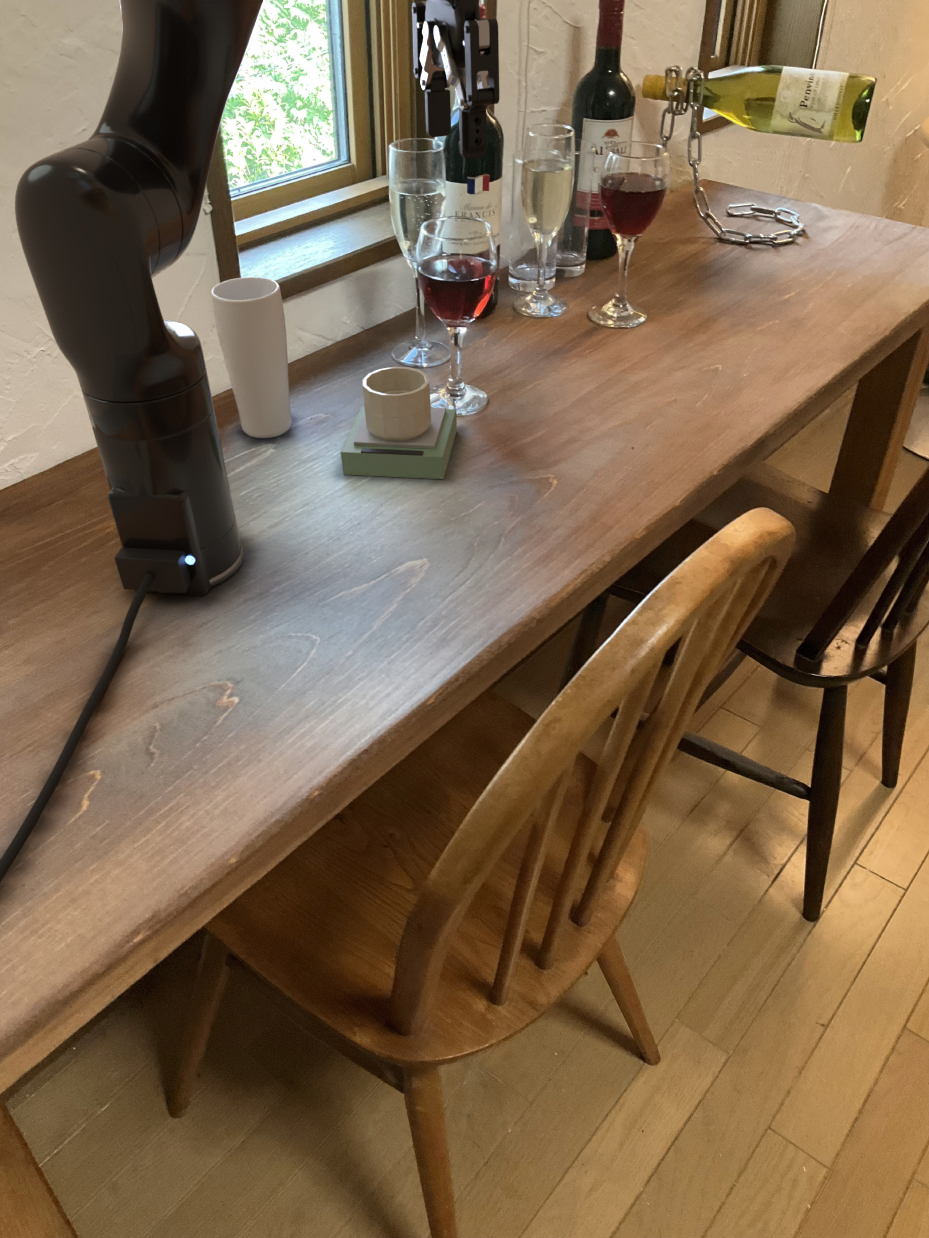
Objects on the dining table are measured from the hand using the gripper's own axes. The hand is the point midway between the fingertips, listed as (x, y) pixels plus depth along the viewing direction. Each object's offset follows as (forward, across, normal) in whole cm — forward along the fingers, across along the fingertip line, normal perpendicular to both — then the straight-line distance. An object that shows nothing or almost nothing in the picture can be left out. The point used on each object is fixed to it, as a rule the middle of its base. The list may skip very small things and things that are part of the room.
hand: (455, 146), depth 86 cm
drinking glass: (+27, -6, -20) cm, 34 cm away
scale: (+27, +4, -8) cm, 28 cm away
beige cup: (+24, +4, -8) cm, 26 cm away
